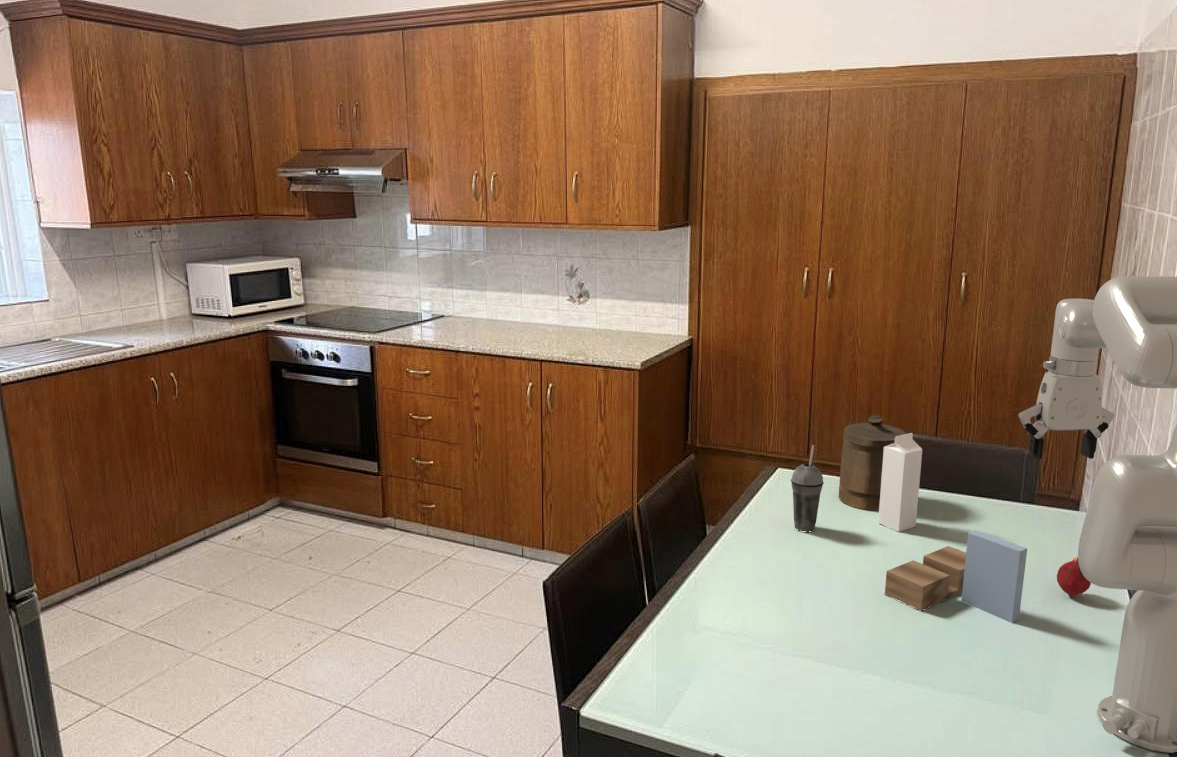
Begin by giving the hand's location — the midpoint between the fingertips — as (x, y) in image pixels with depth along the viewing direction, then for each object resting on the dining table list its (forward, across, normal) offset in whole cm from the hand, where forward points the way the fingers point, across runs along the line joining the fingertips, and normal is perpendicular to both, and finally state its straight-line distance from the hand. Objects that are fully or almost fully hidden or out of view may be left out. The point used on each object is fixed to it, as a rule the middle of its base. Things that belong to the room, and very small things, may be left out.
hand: (1061, 456), depth 160 cm
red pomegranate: (+28, +5, -1) cm, 29 cm away
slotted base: (+28, -20, +3) cm, 35 cm away
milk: (+28, -16, +35) cm, 47 cm away
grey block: (+28, -13, -6) cm, 32 cm away
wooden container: (+28, -17, +51) cm, 60 cm away
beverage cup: (+28, -38, +33) cm, 58 cm away
